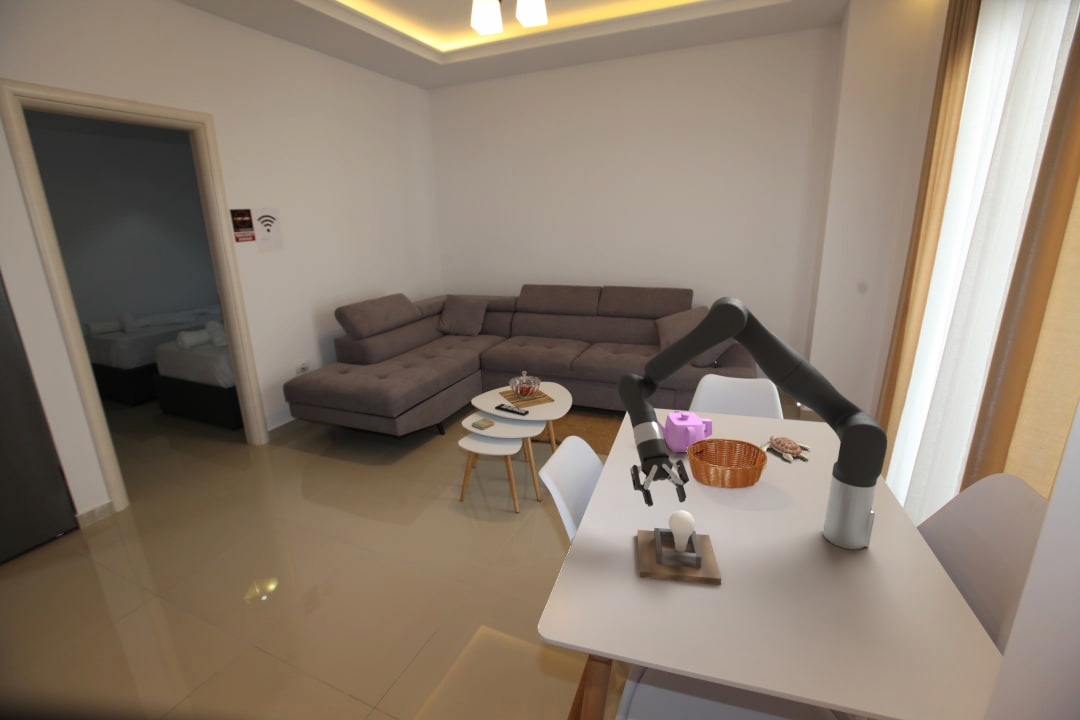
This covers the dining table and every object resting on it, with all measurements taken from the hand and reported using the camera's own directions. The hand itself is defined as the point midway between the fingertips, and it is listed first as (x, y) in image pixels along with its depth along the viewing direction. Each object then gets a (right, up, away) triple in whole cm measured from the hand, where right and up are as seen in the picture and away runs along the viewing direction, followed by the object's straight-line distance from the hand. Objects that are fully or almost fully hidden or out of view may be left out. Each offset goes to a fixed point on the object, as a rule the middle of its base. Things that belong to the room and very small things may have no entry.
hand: (666, 503), depth 120 cm
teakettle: (+21, +5, +58) cm, 61 cm away
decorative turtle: (+55, +3, +50) cm, 75 cm away
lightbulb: (+3, -11, -3) cm, 12 cm away
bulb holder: (+2, -12, -3) cm, 13 cm away
